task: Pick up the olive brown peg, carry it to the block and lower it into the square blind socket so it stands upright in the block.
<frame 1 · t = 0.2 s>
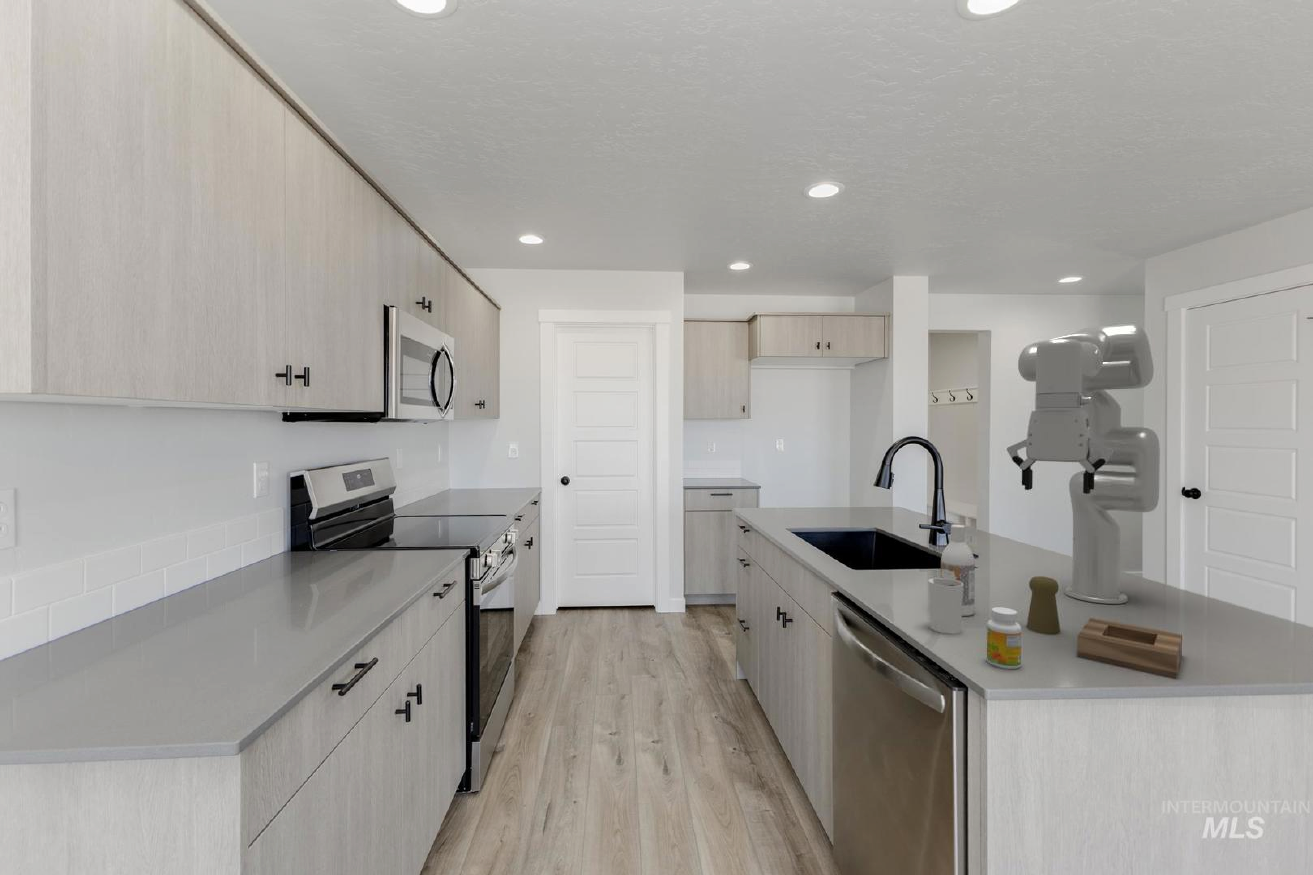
hand: (1056, 491, 117), 30 cm above the counter, tool pointing down, fingers open, 9 cm apart
olive brown peg: (1043, 630, 127), on the counter
socket block: (1129, 656, 112), on the counter
supplement bottle: (1003, 664, 109), on the counter
bath foam: (957, 612, 139), on the counter
white cylindrical cup: (945, 629, 127), on the counter
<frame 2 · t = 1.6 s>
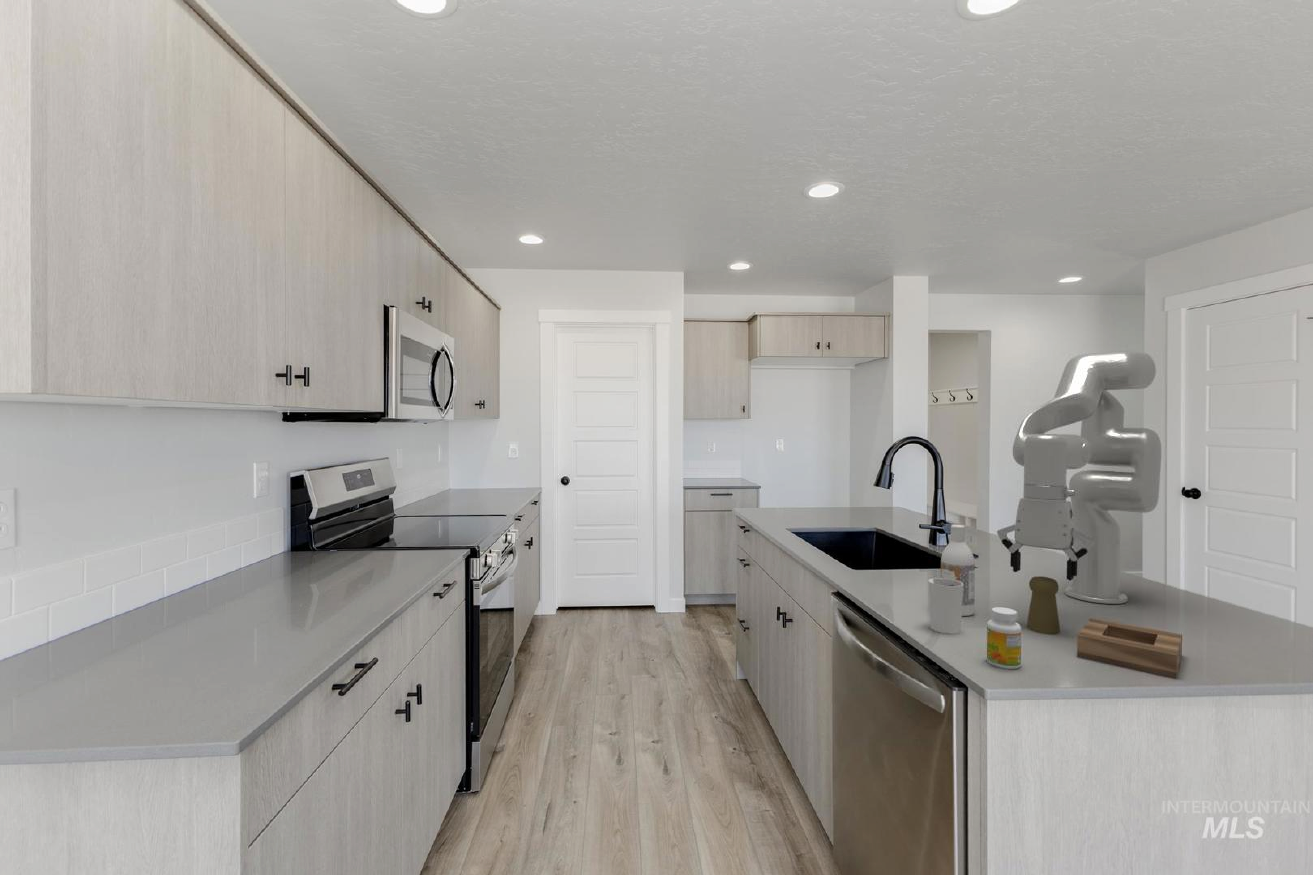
hand: (1042, 574, 126), 12 cm above the counter, tool pointing down, fingers open, 9 cm apart
nothing on the counter moved.
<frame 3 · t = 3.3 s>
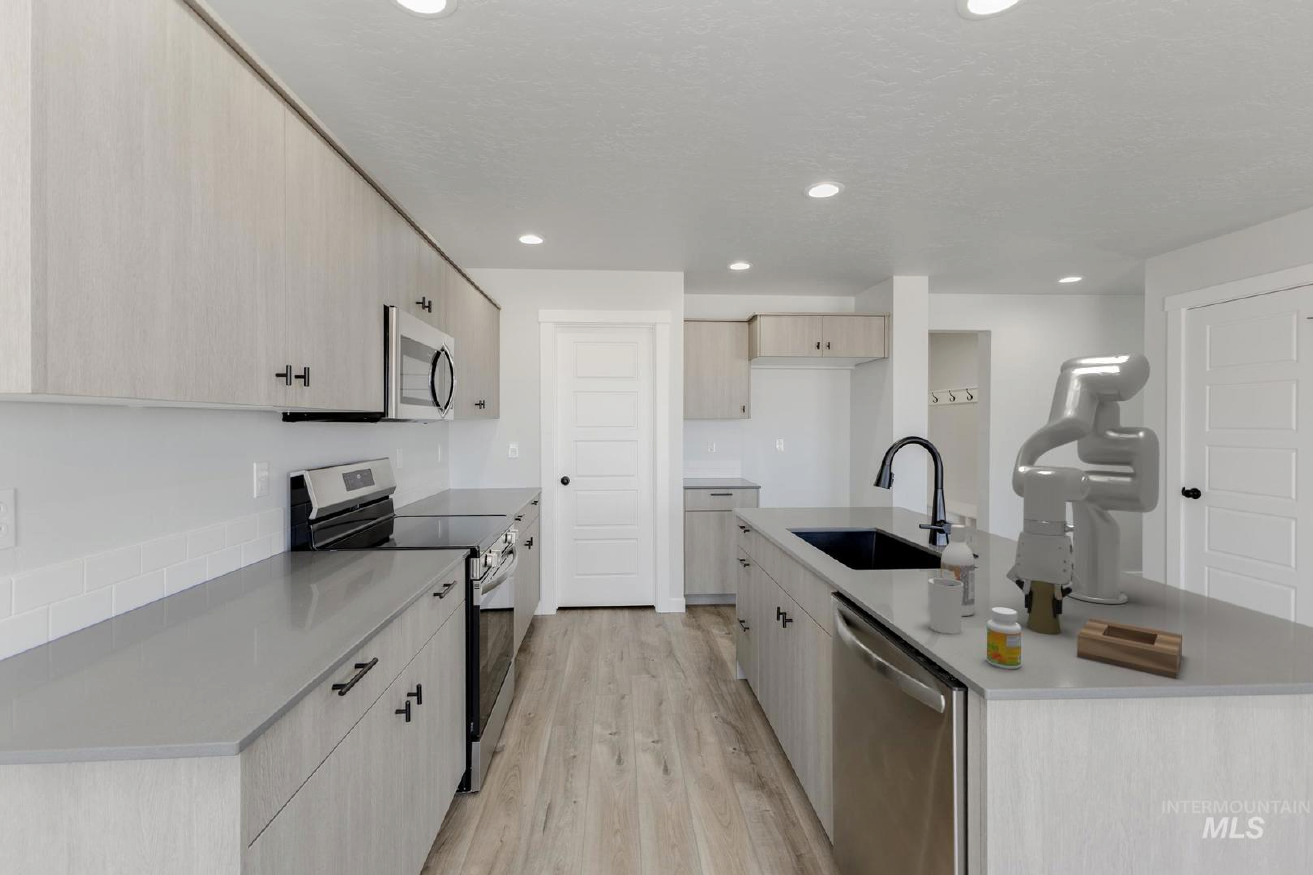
hand: (1043, 613, 127), 3 cm above the counter, tool pointing down, fingers closed on olive brown peg, 3 cm apart
olive brown peg: (1043, 630, 127), on the counter, touching gripper
everything else where it was.
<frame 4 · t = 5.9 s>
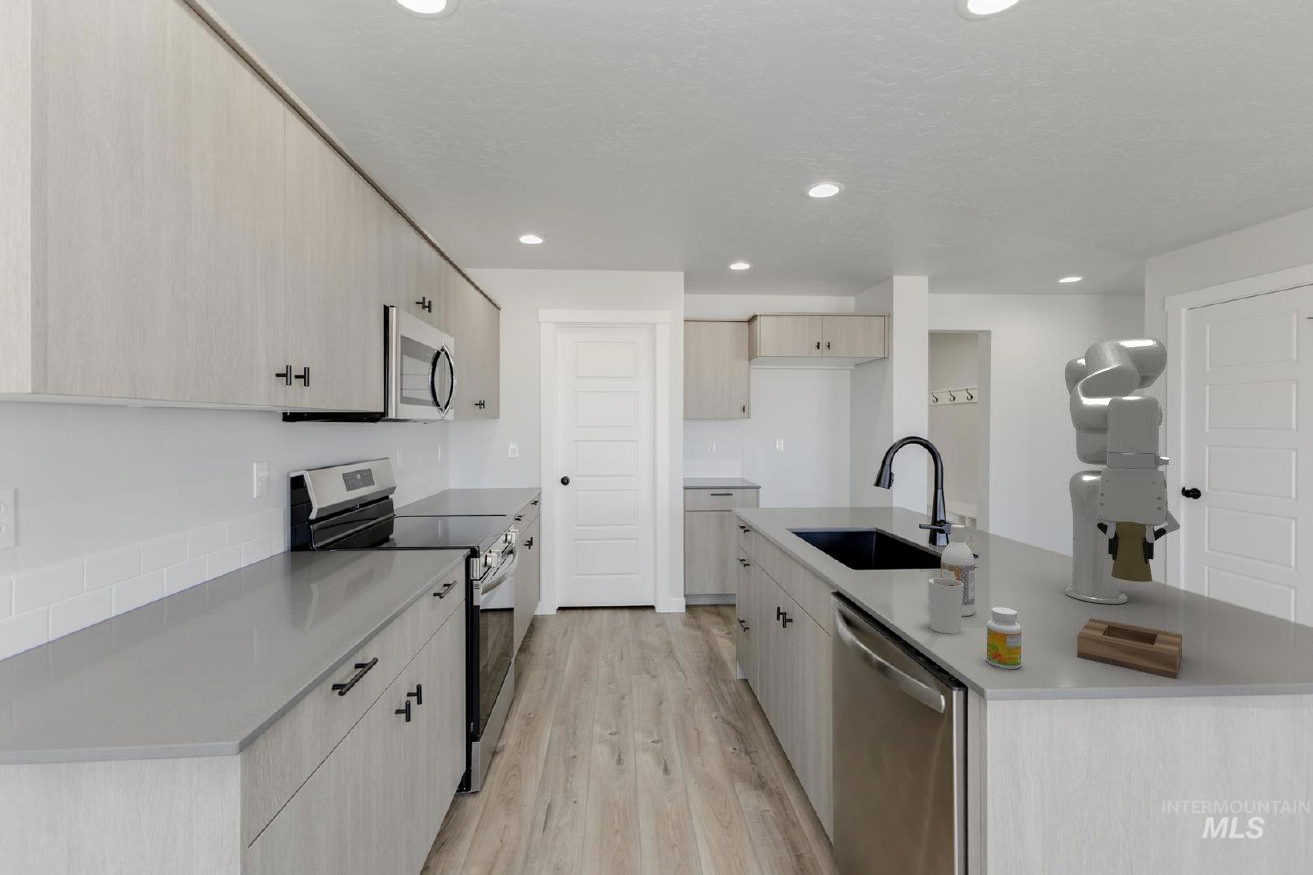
hand: (1130, 559, 112), 18 cm above the counter, tool pointing down, fingers closed on olive brown peg, 3 cm apart
olive brown peg: (1131, 578, 112), point 15 cm above the counter, touching gripper
everything else where it was.
when the fingers open (6 cm above the counter, at t = 8.8 s): olive brown peg drops 1 cm, resting on socket block.
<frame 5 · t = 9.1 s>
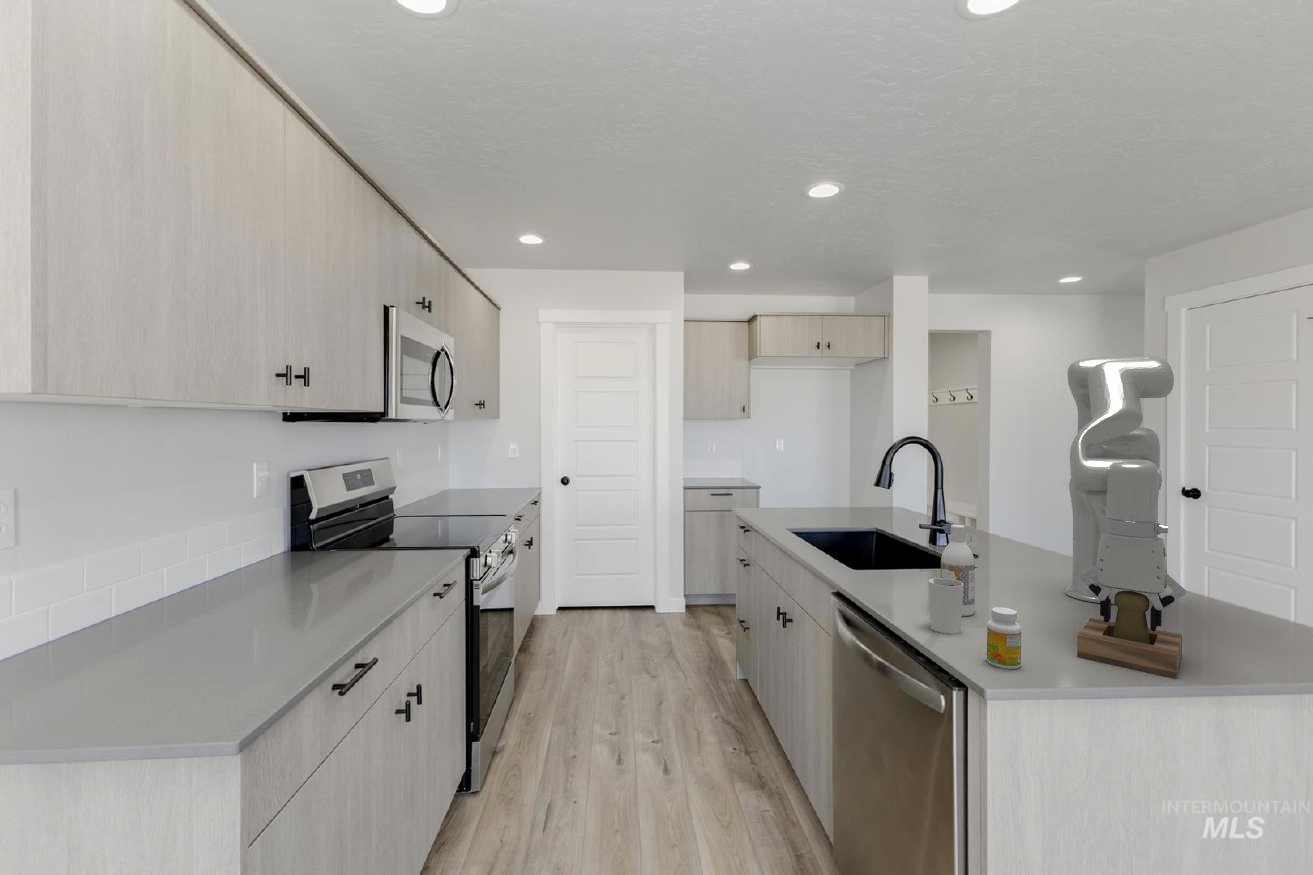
hand: (1129, 623, 112), 6 cm above the counter, tool pointing down, fingers open, 6 cm apart
olive brown peg: (1130, 651, 112), point 1 cm above the counter, touching socket block
everything else where it was.
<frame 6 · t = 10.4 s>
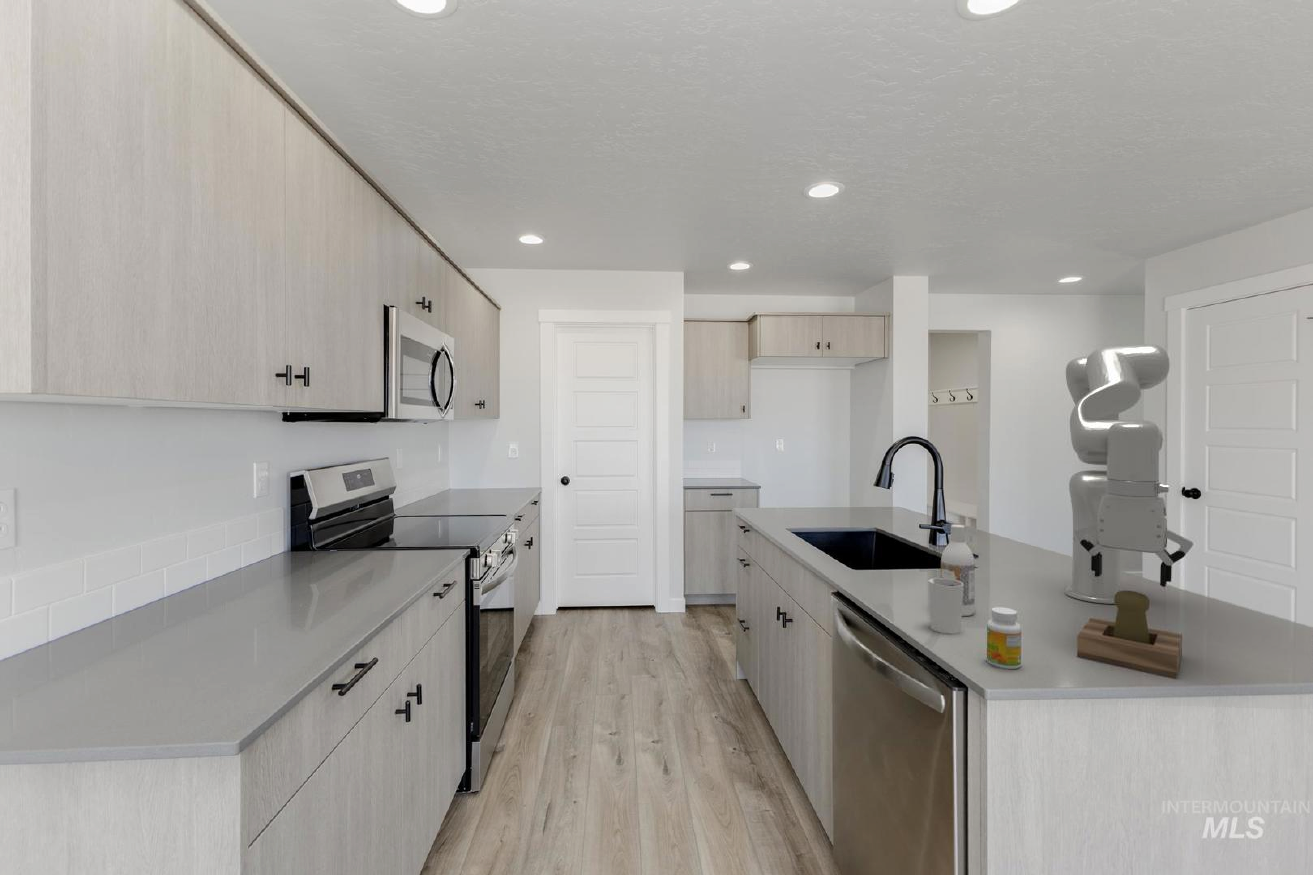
hand: (1129, 579, 112), 14 cm above the counter, tool pointing down, fingers open, 9 cm apart
nothing on the counter moved.
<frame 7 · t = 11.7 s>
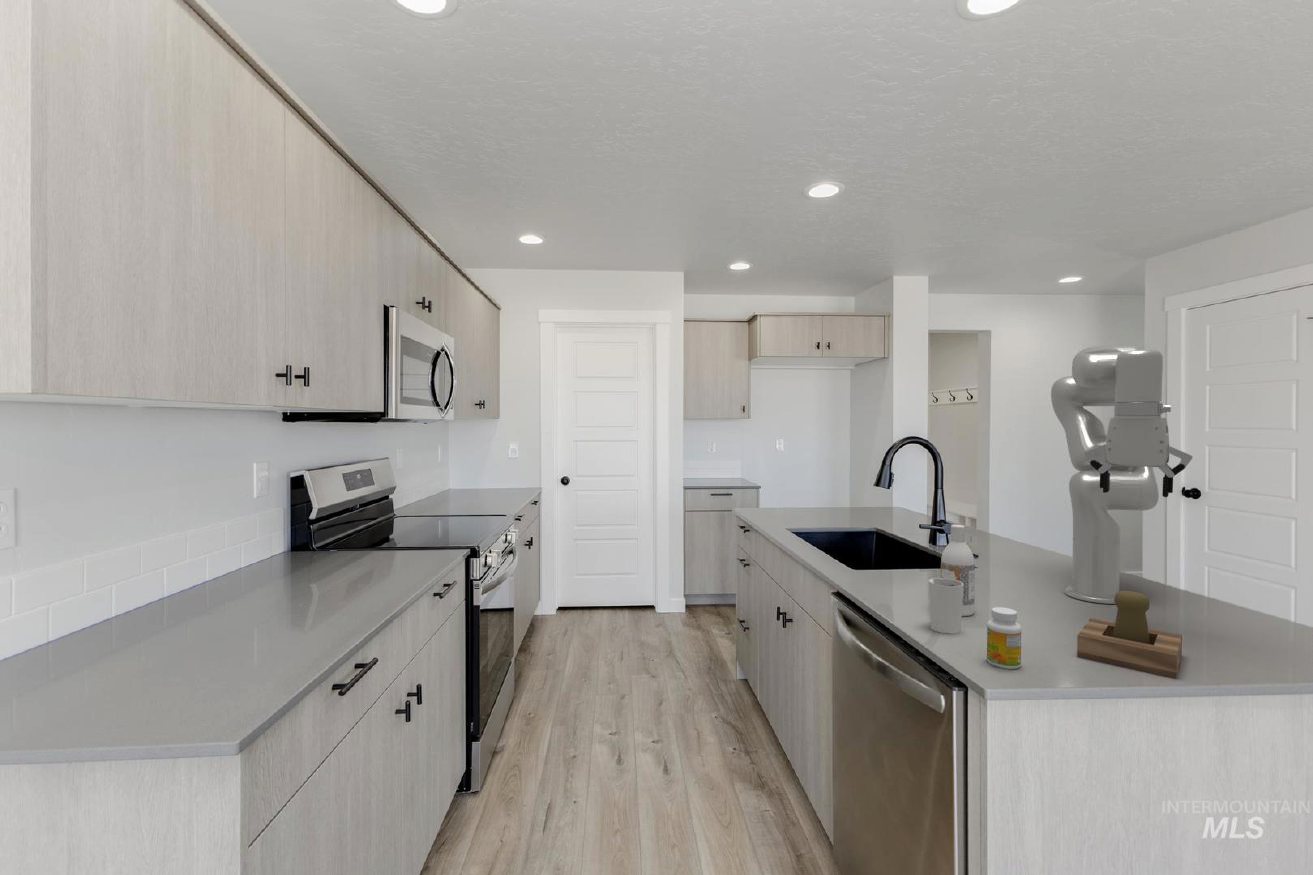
hand: (1135, 494, 124), 29 cm above the counter, tool pointing down, fingers open, 9 cm apart
nothing on the counter moved.
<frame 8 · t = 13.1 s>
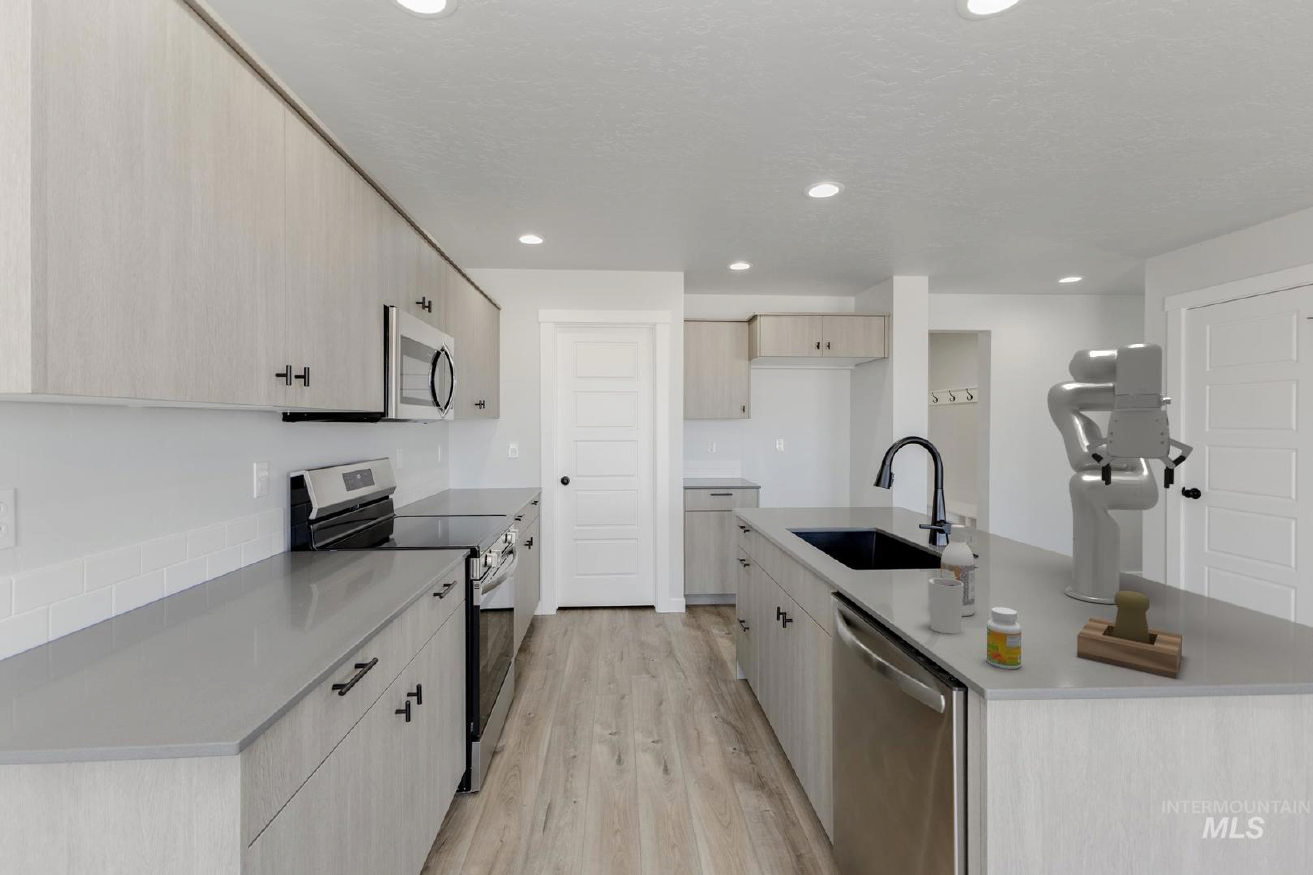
hand: (1136, 486, 125), 30 cm above the counter, tool pointing down, fingers open, 9 cm apart
nothing on the counter moved.
at the end: olive brown peg 0.2 cm off-centre on the socket block, point 0.8 cm above the socket block's base; olive brown peg tilted 0°; the gripper is holding nothing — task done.
